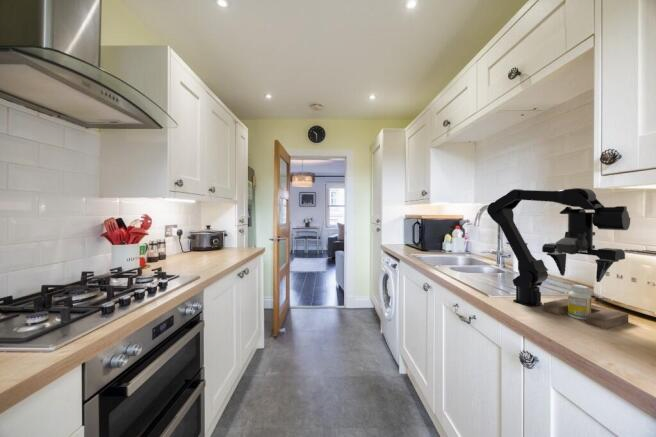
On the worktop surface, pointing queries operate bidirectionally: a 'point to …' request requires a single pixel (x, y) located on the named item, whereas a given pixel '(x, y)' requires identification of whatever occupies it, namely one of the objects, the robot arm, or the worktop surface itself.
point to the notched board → (597, 317)
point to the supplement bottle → (579, 302)
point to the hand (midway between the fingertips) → (579, 278)
